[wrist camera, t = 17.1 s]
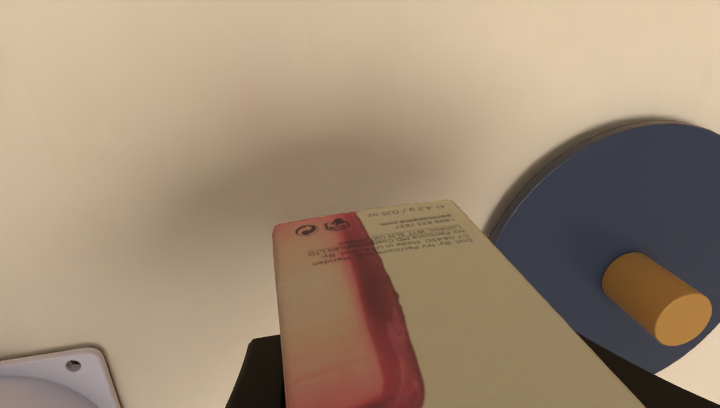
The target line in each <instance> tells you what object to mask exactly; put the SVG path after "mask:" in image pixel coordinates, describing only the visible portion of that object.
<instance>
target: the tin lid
mask: <svg viewBox="0 0 720 408" xmlns="http://www.w3.org/2000/svg"><path fill="white" fill-rule="evenodd" d="M489 240H490V241H491V242H492V243H493V245H494V246H495V247H496V248H497V249H498V250H499V251H500V252H501V253H502V254H503V255H504V256H505V257H506V258H507V260H508V261H509V262H510V263H511V264H512V265H513V266H514V267H515V268H516V269H517V270H518V271H519V272H520V273H521V274H522V276H523V277H524V278H525V279H526V280H527V281H528V282H529V283H530V284H531V285H532V286H533V287H534V288H535V290H536V291H537V292H538V293H539V294H540V295H541V296H542V297H543V298H544V299H545V300H546V301H547V302H548V303H549V304H550V306H551V307H552V308H553V309H554V310H555V311H556V312H557V313H558V314H559V315H560V316H561V317H562V318H563V319H564V320H565V322H566V323H567V324H568V325H569V326H570V327H571V328H572V329H573V330H574V331H576V332H578V333H579V334H581V335H583V336H584V337H586V338H588V339H590V340H591V341H593V342H595V343H597V344H598V345H600V346H602V347H604V348H605V349H607V350H609V351H611V352H613V353H614V354H616V355H618V356H620V357H622V358H623V359H625V360H627V361H629V362H631V363H633V364H635V365H637V366H639V367H641V368H642V369H644V370H646V371H648V372H650V373H652V374H656V373H657V372H659V371H661V370H663V369H665V368H666V367H668V366H670V365H671V364H672V363H674V362H675V361H677V360H678V359H680V358H681V357H683V356H684V355H685V354H687V353H688V352H689V351H690V350H692V349H693V348H694V347H695V346H697V345H698V344H699V343H700V342H701V341H702V340H703V339H704V338H705V337H706V336H707V335H708V334H709V333H710V332H711V331H712V330H713V329H714V328H715V327H716V326H717V325H718V324H719V323H720V135H719V134H717V133H715V132H713V131H711V130H708V129H705V128H701V127H698V126H694V125H691V124H687V123H682V122H673V121H650V122H642V123H637V124H631V125H626V126H622V127H619V128H616V129H613V130H610V131H606V132H604V133H602V134H599V135H597V136H595V137H593V138H590V139H588V140H586V141H584V142H582V143H580V144H579V145H577V146H575V147H574V148H572V149H570V150H569V151H567V152H565V153H564V154H562V155H561V156H560V157H558V158H557V159H556V160H554V161H553V162H552V163H550V164H549V165H548V166H546V167H545V168H544V169H543V170H542V171H541V172H540V173H539V174H537V175H536V176H535V177H534V178H533V179H532V180H531V181H530V182H529V183H528V184H527V185H526V186H525V187H524V188H523V190H522V191H521V192H520V193H519V194H518V195H517V196H516V198H515V199H514V200H513V201H512V203H511V204H510V205H509V207H508V208H507V210H506V211H505V213H504V214H503V215H502V217H501V218H500V220H499V222H498V224H497V226H496V227H495V229H494V231H493V233H492V235H491V237H490V239H489Z"/></svg>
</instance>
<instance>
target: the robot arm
mask: <svg viewBox="0 0 720 408" xmlns="http://www.w3.org/2000/svg"><path fill="white" fill-rule="evenodd" d="M575 333H576V334H577V335H578V336H579V337H580V338H581V339H582V340H583V341H584V342H585V343H586V344H587V345H588V346H589V347H590V348H591V349H592V351H593V352H594V353H595V354H596V355H597V356H598V357H599V358H600V359H601V360H602V361H603V363H604V364H605V365H606V366H607V367H608V368H609V369H610V370H611V371H612V372H613V373H614V374H615V375H616V376H617V377H618V378H619V379H620V381H621V382H622V383H623V384H624V385H625V386H626V387H627V388H628V389H629V390H630V391H631V392H632V393H633V394H634V395H635V396H636V398H637V399H638V400H639V401H640V402H641V403H642V404H643V405H644V406H645V407H646V408H720V405H718V404H716V403H714V402H711V401H709V400H707V399H705V398H702V397H700V396H698V395H696V394H693V393H691V392H689V391H687V390H685V389H682V388H680V387H678V386H676V385H674V384H672V383H670V382H668V381H666V380H664V379H662V378H660V377H658V376H656V375H654V374H652V373H650V372H648V371H646V370H644V369H642V368H641V367H639V366H637V365H635V364H633V363H631V362H629V361H627V360H625V359H623V358H622V357H620V356H618V355H616V354H614V353H613V352H611V351H609V350H607V349H605V348H604V347H602V346H600V345H598V344H597V343H595V342H593V341H591V340H590V339H588V338H586V337H584V336H583V335H581V334H579V333H578V332H576V331H575ZM71 360H72V361H77V362H79V363H80V364H73V363H71V362H70V361H71ZM0 408H121V407H120V404H119V401H118V398H117V395H116V392H115V389H114V386H113V383H112V380H111V377H110V374H109V371H108V368H107V365H106V362H105V359H104V356H103V354H102V352H101V351H99V350H98V349H95V348H80V349H74V350H67V351H61V352H54V353H48V354H42V355H35V356H29V357H22V358H16V359H9V360H3V361H0ZM225 408H286V398H285V385H284V374H283V360H282V349H281V337H280V335H274V336H268V337H262V338H256V339H253V340H252V341H251V342H250V343H249V345H248V348H247V352H246V356H245V359H244V362H243V365H242V368H241V370H240V373H239V376H238V378H237V381H236V383H235V386H234V388H233V391H232V393H231V396H230V398H229V400H228V402H227V405H226V407H225Z"/></svg>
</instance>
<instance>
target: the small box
mask: <svg viewBox="0 0 720 408" xmlns="http://www.w3.org/2000/svg"><path fill="white" fill-rule="evenodd" d="M272 239H273V255H274V269H275V280H276V291H277V303H278V314H279V324H280V337H281V349H282V360H283V374H284V385H285V398H286V408H646V407H645V406H644V405H643V404H642V403H641V402H640V401H639V400H638V399H637V398H636V396H635V395H634V394H633V393H632V392H631V391H630V390H629V389H628V388H627V387H626V386H625V385H624V384H623V383H622V382H621V381H620V379H619V378H618V377H617V376H616V375H615V374H614V373H613V372H612V371H611V370H610V369H609V368H608V367H607V366H606V365H605V364H604V363H603V361H602V360H601V359H600V358H599V357H598V356H597V355H596V354H595V353H594V352H593V351H592V349H591V348H590V347H589V346H588V345H587V344H586V343H585V342H584V341H583V340H582V339H581V338H580V337H579V336H578V335H577V334H576V333H575V331H574V330H573V329H572V328H571V327H570V326H569V325H568V324H567V323H566V322H565V320H564V319H563V318H562V317H561V316H560V315H559V314H558V313H557V312H556V311H555V310H554V309H553V308H552V307H551V306H550V304H549V303H548V302H547V301H546V300H545V299H544V298H543V297H542V296H541V295H540V294H539V293H538V292H537V291H536V290H535V288H534V287H533V286H532V285H531V284H530V283H529V282H528V281H527V280H526V279H525V278H524V277H523V276H522V274H521V273H520V272H519V271H518V270H517V269H516V268H515V267H514V266H513V265H512V264H511V263H510V262H509V261H508V260H507V258H506V257H505V256H504V255H503V254H502V253H501V252H500V251H499V250H498V249H497V248H496V247H495V246H494V245H493V243H492V242H491V241H490V240H489V239H488V238H487V237H486V236H485V235H484V234H483V233H482V232H481V231H480V230H479V229H478V228H477V227H476V225H475V224H474V223H473V222H472V221H471V220H470V219H469V218H468V217H467V215H466V214H465V213H464V212H463V211H462V210H461V209H460V208H459V207H458V206H457V205H456V204H455V203H454V202H453V201H451V200H441V201H433V202H424V203H415V204H407V205H398V206H390V207H383V208H375V209H367V210H362V211H356V212H350V213H342V214H336V215H329V216H324V217H317V218H310V219H305V220H300V221H295V222H288V223H282V224H278V225H277V226H275V228H274V229H273V234H272Z"/></svg>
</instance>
